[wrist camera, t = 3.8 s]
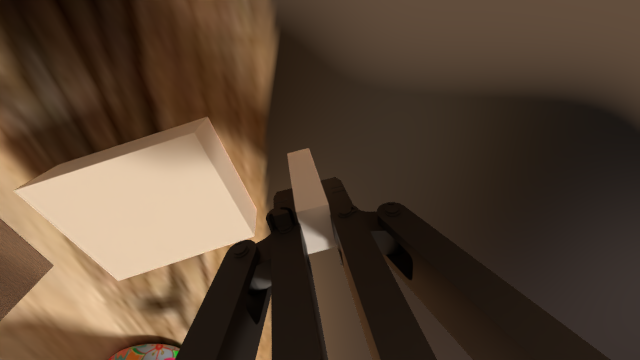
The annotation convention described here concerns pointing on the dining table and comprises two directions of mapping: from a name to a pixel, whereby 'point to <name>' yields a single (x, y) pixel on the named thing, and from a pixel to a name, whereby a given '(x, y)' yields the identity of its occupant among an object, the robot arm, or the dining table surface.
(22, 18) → the dining table surface
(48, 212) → the cream rectangular block
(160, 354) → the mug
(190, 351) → the robot arm
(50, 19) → the dining table surface
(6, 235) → the block
